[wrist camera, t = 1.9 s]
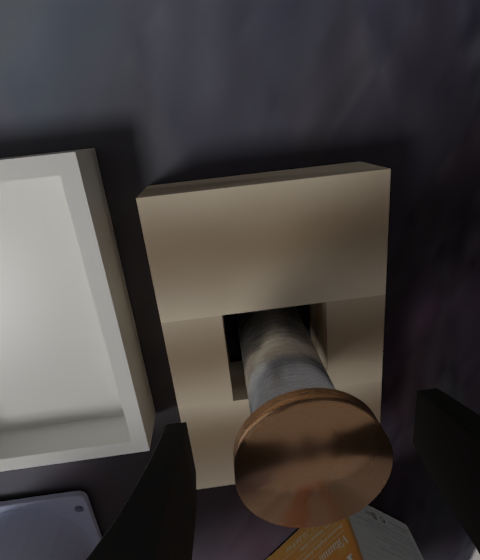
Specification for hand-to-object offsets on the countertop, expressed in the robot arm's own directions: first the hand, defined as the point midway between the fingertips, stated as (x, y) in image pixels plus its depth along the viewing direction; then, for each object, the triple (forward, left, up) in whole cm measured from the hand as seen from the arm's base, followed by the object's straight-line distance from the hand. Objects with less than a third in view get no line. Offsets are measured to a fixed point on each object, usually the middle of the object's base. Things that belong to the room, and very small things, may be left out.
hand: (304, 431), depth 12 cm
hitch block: (0, 0, -8) cm, 8 cm away
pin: (0, 0, -8) cm, 8 cm away
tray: (+2, +11, -8) cm, 14 cm away
